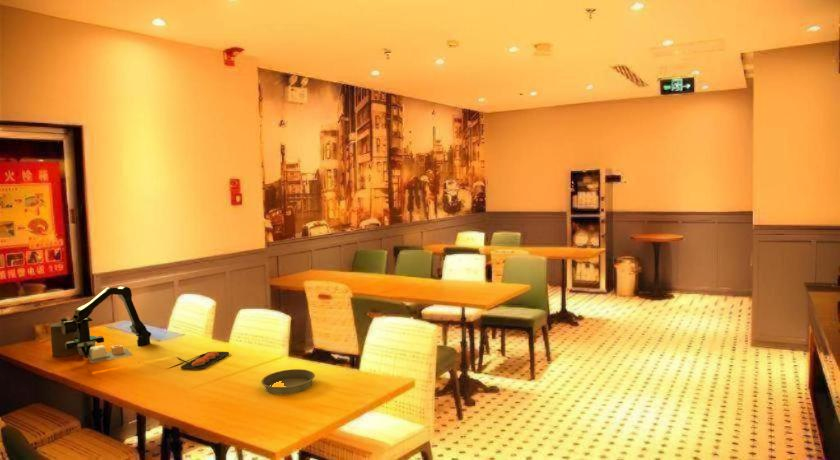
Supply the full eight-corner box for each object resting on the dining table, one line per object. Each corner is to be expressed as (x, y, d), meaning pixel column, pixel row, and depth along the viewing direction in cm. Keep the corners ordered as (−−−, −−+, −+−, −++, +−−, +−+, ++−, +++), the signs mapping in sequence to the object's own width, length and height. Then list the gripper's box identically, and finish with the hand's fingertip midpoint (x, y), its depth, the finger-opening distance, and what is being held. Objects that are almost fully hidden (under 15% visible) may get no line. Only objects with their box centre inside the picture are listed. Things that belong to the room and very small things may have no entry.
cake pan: (252, 388, 275) (251, 379, 274) (297, 374, 292) (296, 365, 292) (279, 401, 257) (279, 391, 257) (325, 385, 274) (325, 376, 274)
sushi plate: (203, 372, 304) (202, 364, 304) (152, 370, 310) (151, 363, 310) (231, 355, 332) (231, 348, 332) (184, 354, 339) (184, 347, 338)
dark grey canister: (86, 349, 357) (83, 313, 355) (69, 356, 343) (66, 319, 341) (64, 349, 359) (60, 314, 357) (46, 356, 344) (42, 320, 342)
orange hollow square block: (121, 350, 345) (121, 344, 344) (123, 352, 340) (123, 346, 340) (111, 352, 342) (111, 346, 341) (113, 354, 337) (112, 348, 337)
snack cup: (74, 353, 348) (72, 337, 347) (94, 350, 354) (92, 333, 353) (79, 359, 336) (77, 342, 335) (99, 355, 342) (98, 338, 341)
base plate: (127, 350, 350) (126, 345, 349) (133, 357, 335) (132, 351, 335) (87, 358, 337) (86, 352, 337) (91, 365, 323) (91, 359, 322)
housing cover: (103, 353, 341) (102, 344, 341) (106, 356, 333) (105, 348, 333) (90, 356, 337) (89, 347, 336) (92, 359, 329) (91, 350, 329)
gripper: (100, 324, 342) (102, 350, 344) (63, 330, 331) (65, 357, 333) (103, 327, 333) (105, 354, 335) (65, 334, 322) (68, 361, 324)
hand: (86, 356), depth 332 cm, fingers closed
